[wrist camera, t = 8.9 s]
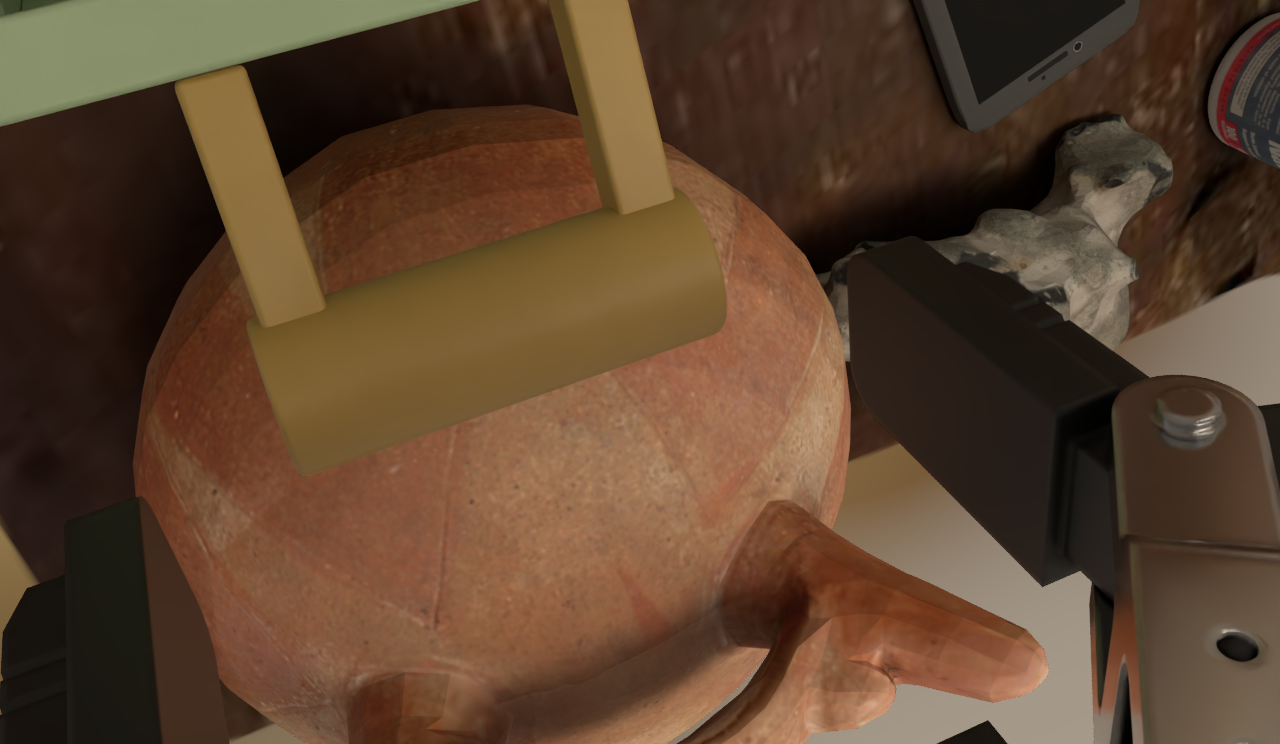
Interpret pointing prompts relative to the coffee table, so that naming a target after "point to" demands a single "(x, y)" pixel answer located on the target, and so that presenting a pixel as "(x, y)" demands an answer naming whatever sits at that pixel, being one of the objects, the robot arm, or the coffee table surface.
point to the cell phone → (1013, 48)
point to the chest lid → (418, 296)
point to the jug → (545, 495)
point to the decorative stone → (1060, 231)
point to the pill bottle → (1250, 93)
